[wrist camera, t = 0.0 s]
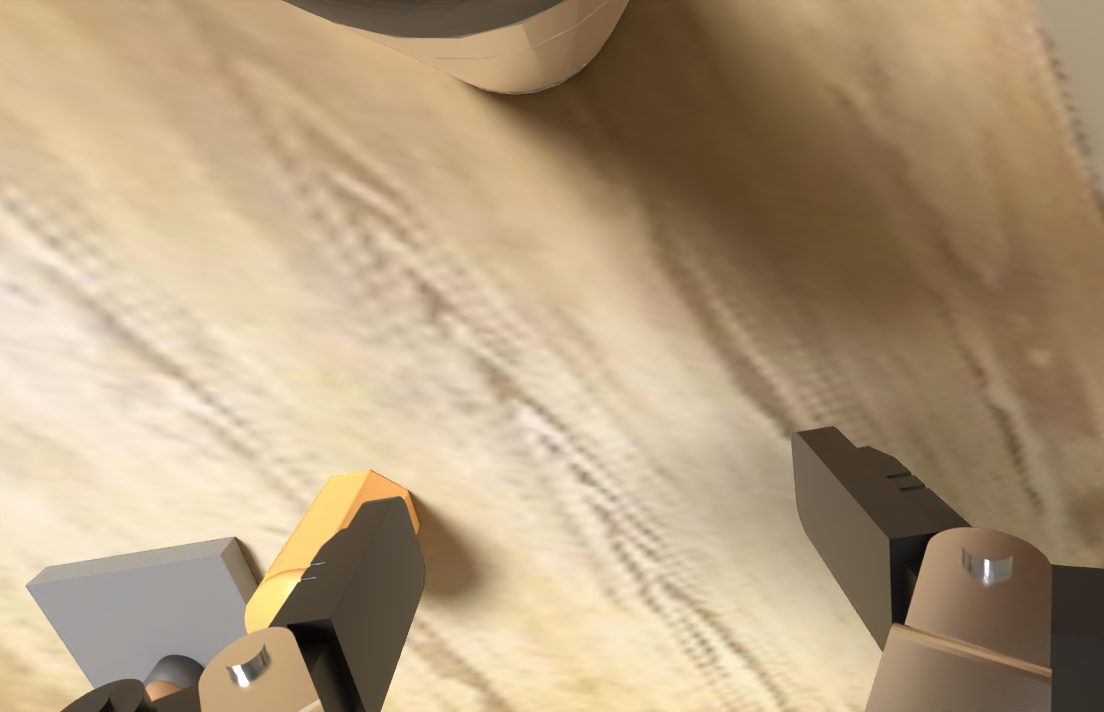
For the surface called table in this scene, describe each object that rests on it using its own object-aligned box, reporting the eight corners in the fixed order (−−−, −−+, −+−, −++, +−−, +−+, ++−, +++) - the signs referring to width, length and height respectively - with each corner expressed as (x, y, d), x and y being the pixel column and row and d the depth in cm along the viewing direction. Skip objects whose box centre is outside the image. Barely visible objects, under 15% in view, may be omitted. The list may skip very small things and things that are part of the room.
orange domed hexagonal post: (301, 481, 32) (223, 588, 25) (399, 464, 32) (349, 568, 24) (335, 562, 34) (272, 683, 27) (428, 547, 34) (390, 667, 26)
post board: (46, 567, 35) (-92, 685, 27) (234, 536, 34) (143, 651, 26) (163, 748, 40) (75, 886, 33) (327, 727, 39) (273, 864, 32)
